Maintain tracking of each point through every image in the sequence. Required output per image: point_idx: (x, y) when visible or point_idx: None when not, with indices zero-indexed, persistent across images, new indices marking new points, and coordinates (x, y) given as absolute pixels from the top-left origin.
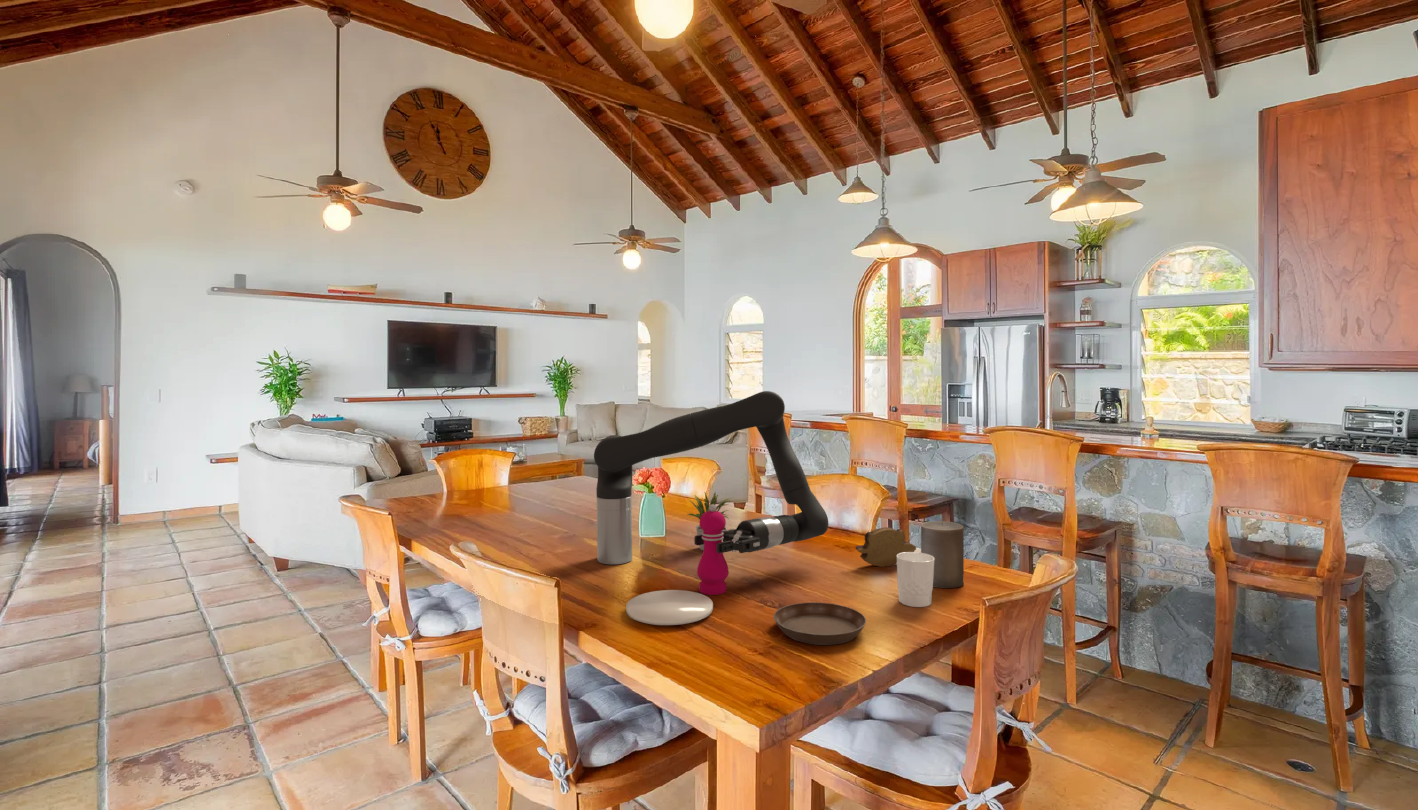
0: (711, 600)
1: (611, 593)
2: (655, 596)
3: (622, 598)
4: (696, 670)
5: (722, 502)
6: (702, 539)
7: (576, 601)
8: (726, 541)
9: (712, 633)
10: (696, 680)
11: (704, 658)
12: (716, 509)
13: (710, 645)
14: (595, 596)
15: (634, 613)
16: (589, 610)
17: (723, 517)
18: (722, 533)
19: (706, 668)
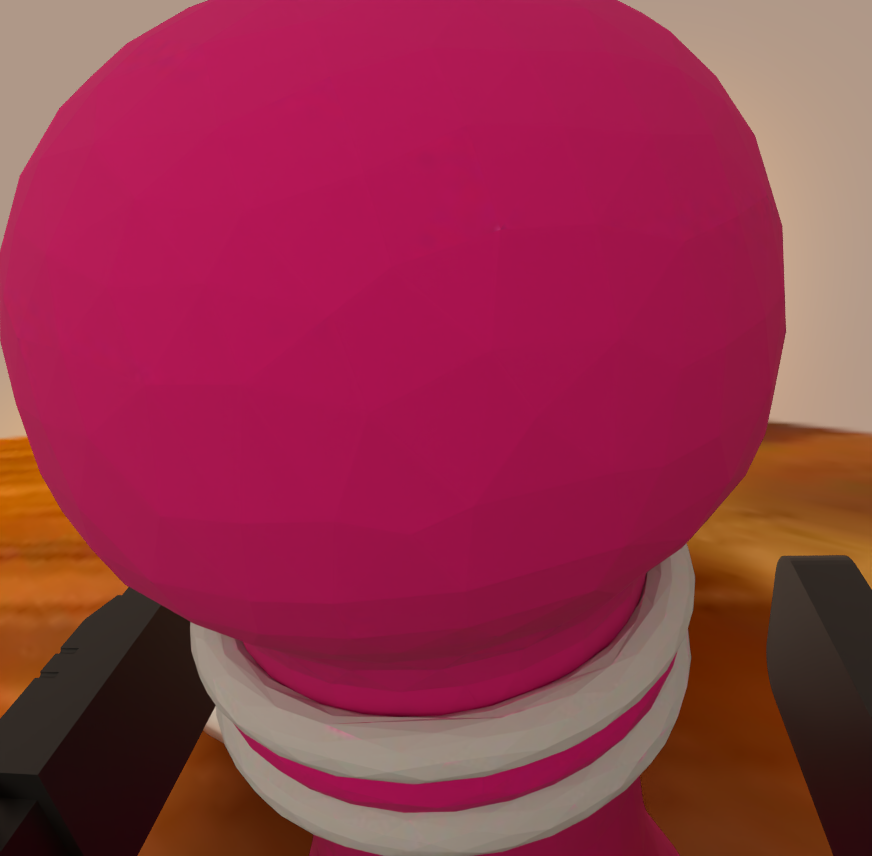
0: (212, 717)
1: (842, 522)
2: None
3: (729, 529)
4: (32, 467)
5: None
6: (822, 719)
7: (778, 427)
8: (86, 697)
9: (76, 593)
10: (14, 453)
11: (33, 500)
12: None
13: (45, 544)
14: (819, 474)
15: None
16: None
17: (11, 226)
18: (197, 627)
19: (6, 483)
